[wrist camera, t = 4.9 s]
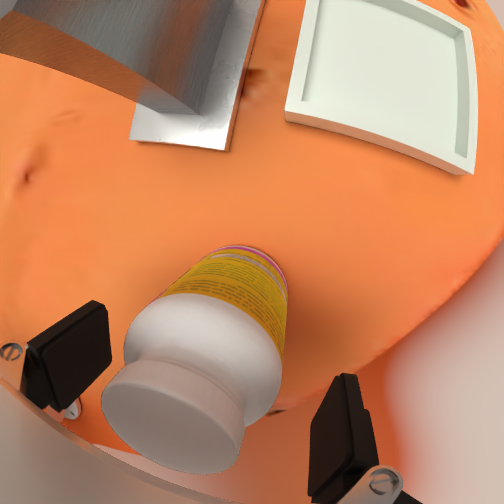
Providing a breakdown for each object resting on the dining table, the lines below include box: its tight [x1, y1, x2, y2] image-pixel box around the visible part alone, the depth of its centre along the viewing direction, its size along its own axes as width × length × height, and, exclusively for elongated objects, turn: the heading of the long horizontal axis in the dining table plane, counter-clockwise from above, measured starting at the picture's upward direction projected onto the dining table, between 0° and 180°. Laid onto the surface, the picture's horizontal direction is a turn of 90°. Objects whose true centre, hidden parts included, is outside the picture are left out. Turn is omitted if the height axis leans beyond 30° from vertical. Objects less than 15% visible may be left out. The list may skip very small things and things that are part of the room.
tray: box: [284, 0, 478, 175], centre depth 12 cm, size 13×13×2 cm
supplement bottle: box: [101, 245, 288, 474], centre depth 13 cm, size 7×7×13 cm
